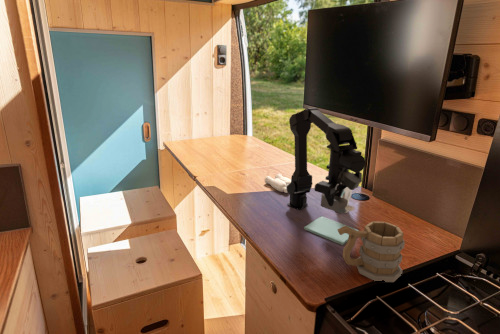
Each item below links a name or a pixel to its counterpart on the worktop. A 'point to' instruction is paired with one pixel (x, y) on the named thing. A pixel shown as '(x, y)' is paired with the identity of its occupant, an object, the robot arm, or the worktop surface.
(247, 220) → the worktop surface
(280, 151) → the worktop surface
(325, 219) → the mat
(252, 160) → the worktop surface
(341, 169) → the robot arm
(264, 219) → the worktop surface
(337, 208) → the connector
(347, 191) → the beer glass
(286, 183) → the binoculars
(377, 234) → the tankard
